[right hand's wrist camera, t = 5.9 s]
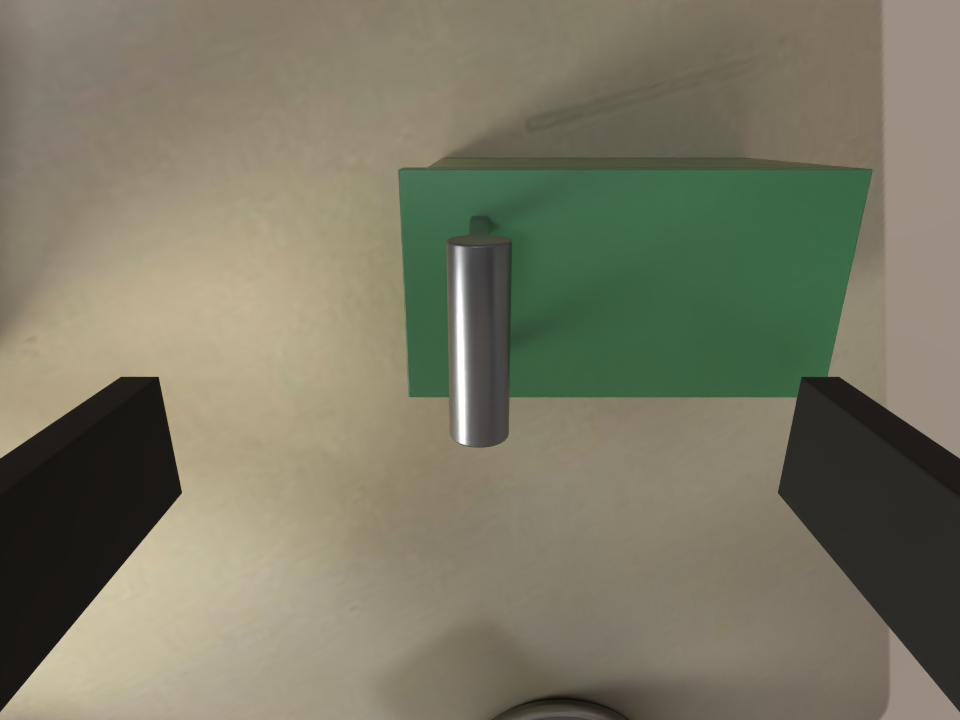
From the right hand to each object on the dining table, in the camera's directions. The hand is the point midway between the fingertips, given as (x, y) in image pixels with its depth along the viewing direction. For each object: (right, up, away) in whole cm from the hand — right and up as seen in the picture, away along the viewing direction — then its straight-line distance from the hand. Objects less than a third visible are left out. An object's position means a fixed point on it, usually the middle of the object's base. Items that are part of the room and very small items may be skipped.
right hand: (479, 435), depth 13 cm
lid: (+6, +5, +13) cm, 15 cm away
